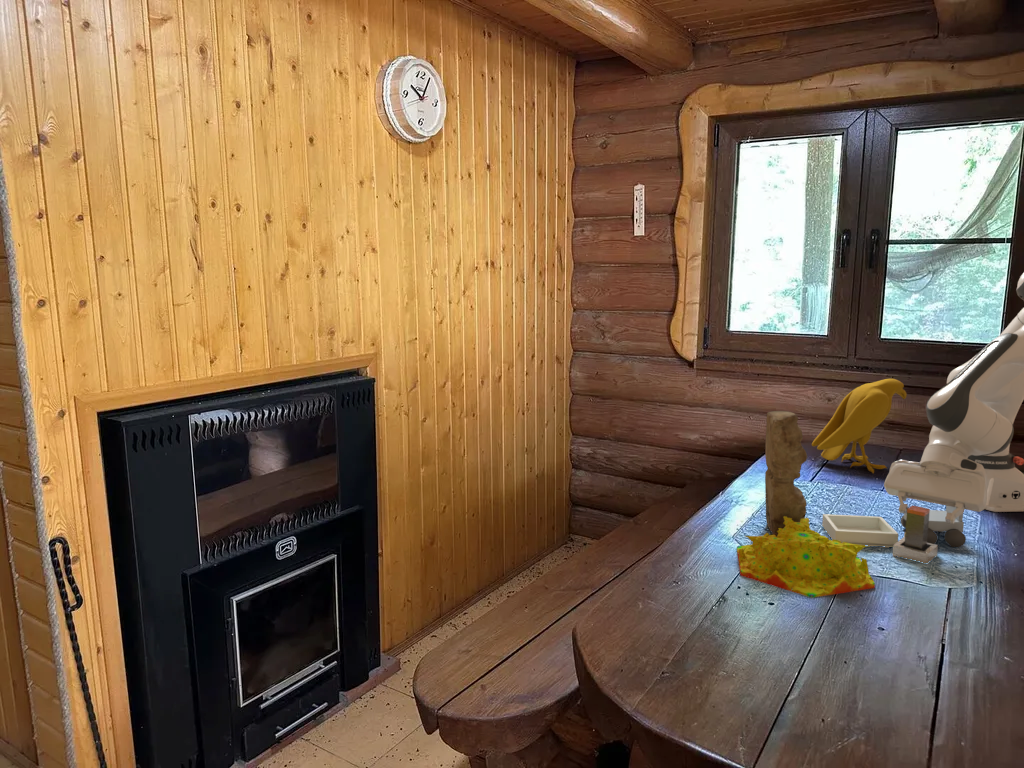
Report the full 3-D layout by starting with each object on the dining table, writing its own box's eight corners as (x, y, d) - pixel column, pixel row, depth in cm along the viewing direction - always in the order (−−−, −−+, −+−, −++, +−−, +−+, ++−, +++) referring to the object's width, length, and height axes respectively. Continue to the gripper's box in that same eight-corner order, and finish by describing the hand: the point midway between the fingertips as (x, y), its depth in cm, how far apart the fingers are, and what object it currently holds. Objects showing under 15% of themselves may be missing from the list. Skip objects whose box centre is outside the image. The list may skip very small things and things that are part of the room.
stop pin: (908, 551, 160) (912, 505, 158) (925, 555, 158) (929, 508, 156) (903, 555, 158) (907, 509, 156) (920, 560, 155) (924, 512, 154)
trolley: (943, 530, 173) (947, 485, 171) (965, 548, 162) (969, 499, 160) (900, 528, 174) (903, 483, 173) (918, 545, 163) (922, 497, 162)
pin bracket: (903, 547, 163) (903, 536, 162) (936, 555, 158) (937, 545, 157) (892, 555, 158) (893, 545, 157) (926, 564, 153) (927, 553, 152)
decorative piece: (744, 556, 140) (736, 507, 169) (742, 592, 142) (735, 538, 170) (886, 568, 134) (853, 515, 162) (883, 607, 135) (851, 548, 164)
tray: (880, 529, 173) (881, 516, 173) (897, 547, 162) (898, 533, 162) (822, 527, 176) (822, 514, 175) (834, 544, 165) (835, 530, 164)
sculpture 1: (808, 542, 166) (815, 418, 161) (767, 540, 168) (773, 417, 163) (798, 524, 178) (804, 408, 173) (760, 522, 180) (765, 407, 175)
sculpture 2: (908, 478, 221) (926, 385, 216) (824, 470, 221) (841, 377, 216) (876, 461, 241) (892, 375, 236) (799, 454, 241) (813, 368, 236)
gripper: (890, 451, 168) (873, 499, 163) (991, 466, 154) (975, 520, 148) (896, 465, 172) (879, 513, 167) (994, 482, 157) (979, 535, 152)
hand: (925, 516), depth 157 cm, fingers open, 8 cm apart
